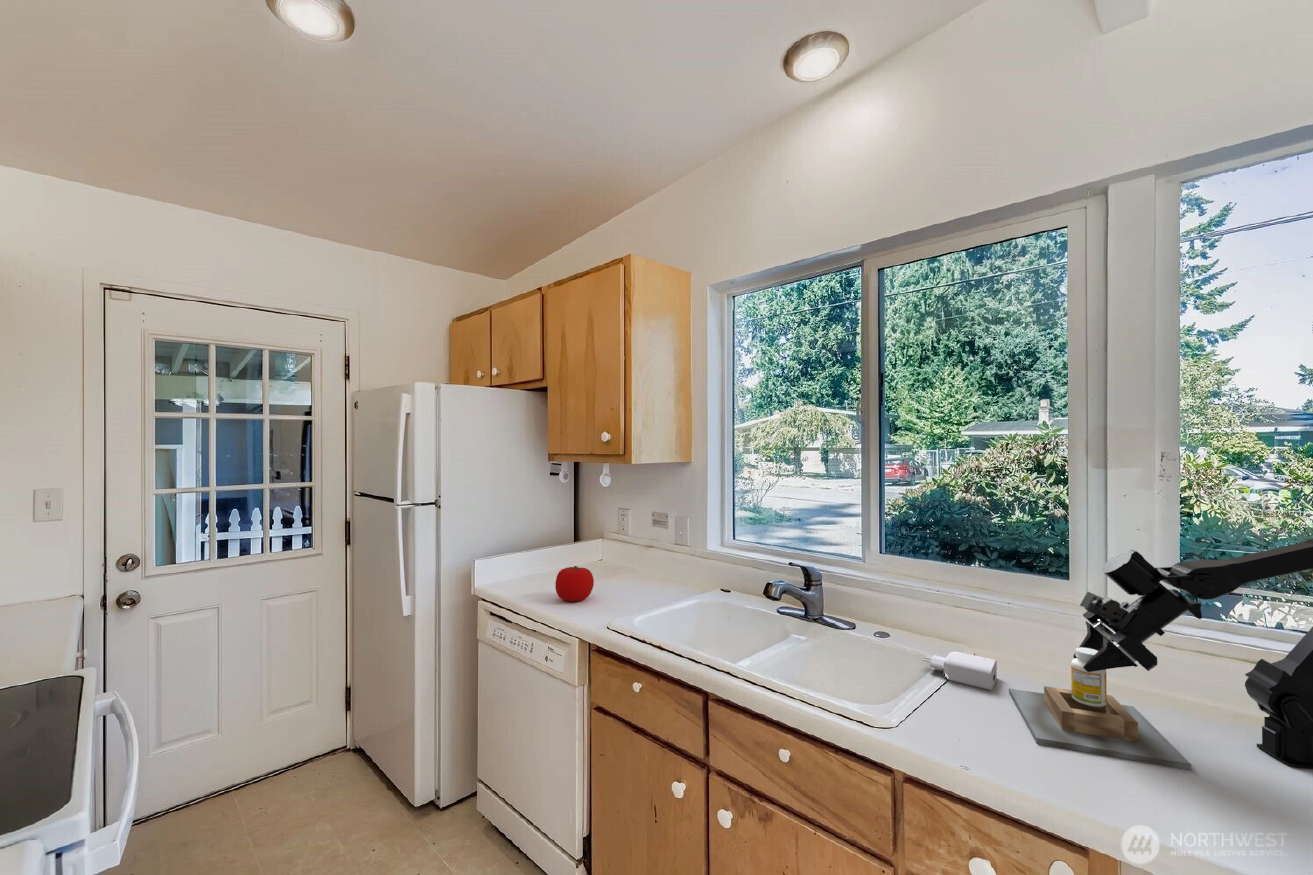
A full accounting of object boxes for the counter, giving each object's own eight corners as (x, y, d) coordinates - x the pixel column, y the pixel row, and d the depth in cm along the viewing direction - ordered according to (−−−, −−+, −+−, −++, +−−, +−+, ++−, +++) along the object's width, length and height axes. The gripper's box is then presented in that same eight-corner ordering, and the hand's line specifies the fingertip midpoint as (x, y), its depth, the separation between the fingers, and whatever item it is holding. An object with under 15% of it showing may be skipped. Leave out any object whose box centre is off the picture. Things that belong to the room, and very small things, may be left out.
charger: (927, 662, 138) (997, 678, 129) (918, 674, 131) (991, 692, 122) (927, 643, 139) (997, 658, 129) (918, 654, 131) (991, 671, 122)
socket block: (1133, 711, 113) (1133, 689, 113) (1191, 769, 93) (1190, 743, 93) (1008, 692, 121) (1008, 672, 121) (1036, 743, 101) (1036, 718, 101)
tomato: (548, 603, 187) (548, 569, 187) (566, 593, 200) (566, 560, 200) (582, 606, 183) (582, 571, 183) (598, 596, 196) (599, 563, 196)
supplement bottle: (1085, 693, 110) (1084, 644, 110) (1114, 705, 105) (1113, 654, 105) (1064, 696, 109) (1064, 647, 109) (1092, 709, 104) (1092, 657, 104)
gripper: (1093, 570, 115) (1032, 617, 118) (1133, 592, 97) (1059, 647, 101) (1142, 612, 112) (1077, 659, 115) (1191, 643, 94) (1113, 697, 98)
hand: (1080, 664), depth 108 cm, fingers closed on supplement bottle, 5 cm apart
